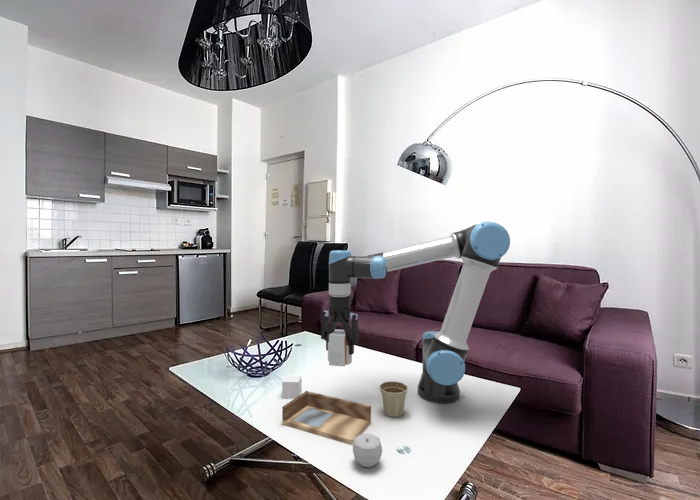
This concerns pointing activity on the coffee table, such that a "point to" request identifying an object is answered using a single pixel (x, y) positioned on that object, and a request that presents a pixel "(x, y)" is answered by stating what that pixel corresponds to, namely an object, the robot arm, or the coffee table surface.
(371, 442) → the apple
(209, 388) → the coffee table surface
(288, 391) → the white cube
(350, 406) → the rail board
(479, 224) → the robot arm
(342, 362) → the small box
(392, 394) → the flower pot
